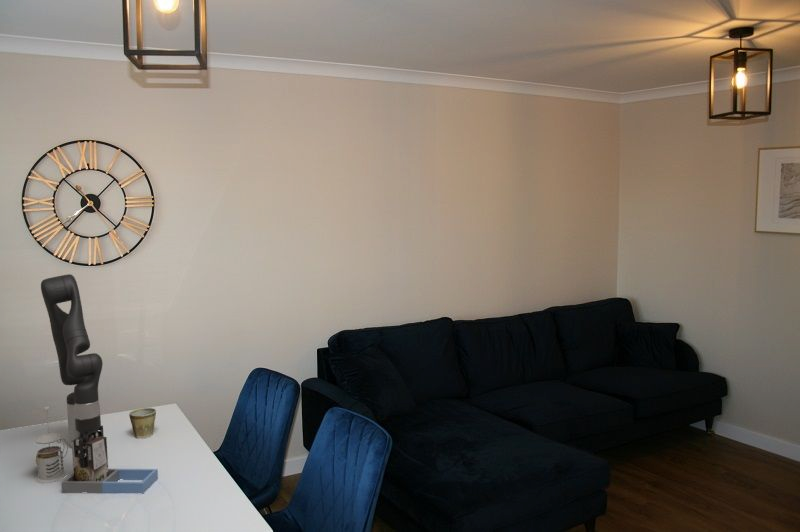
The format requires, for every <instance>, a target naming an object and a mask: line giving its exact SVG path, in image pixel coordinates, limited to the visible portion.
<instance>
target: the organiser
mask: <svg viewBox="0 0 800 532" xmlns="http://www.w3.org/2000/svg"><path fill="white" fill-rule="evenodd" d="M108 473H109V476H108V477H107V478H106V479H104V480H103V481H102V482H96V481H74V472H73V473H72V474H70V476H68V477H67V478H64V479H63V481H61V482H60V483H61V493H62V494H83V493H82V492H87V493H86V494H117V493H142V494H141V495H143V493H144V492H145V491H146V490H147V489H148V488H149V487H150V486H151V485H152V484H153V483H154V482H155V481H156V482H157V481H158V480H159V472H158V468H108ZM120 479H123V480H122V481H121V480H120ZM157 479H158V480H157ZM118 480H119V481H118ZM156 482H155V483H156ZM155 483H154V484H155ZM152 486H153V485H152ZM152 486H151V487H152ZM151 487H150V488H151ZM150 488H149V489H150ZM149 489H148V490H149ZM148 490H147V491H148ZM147 491H146V492H147ZM146 492H145V493H146ZM145 493H144V494H145Z"/></svg>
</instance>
